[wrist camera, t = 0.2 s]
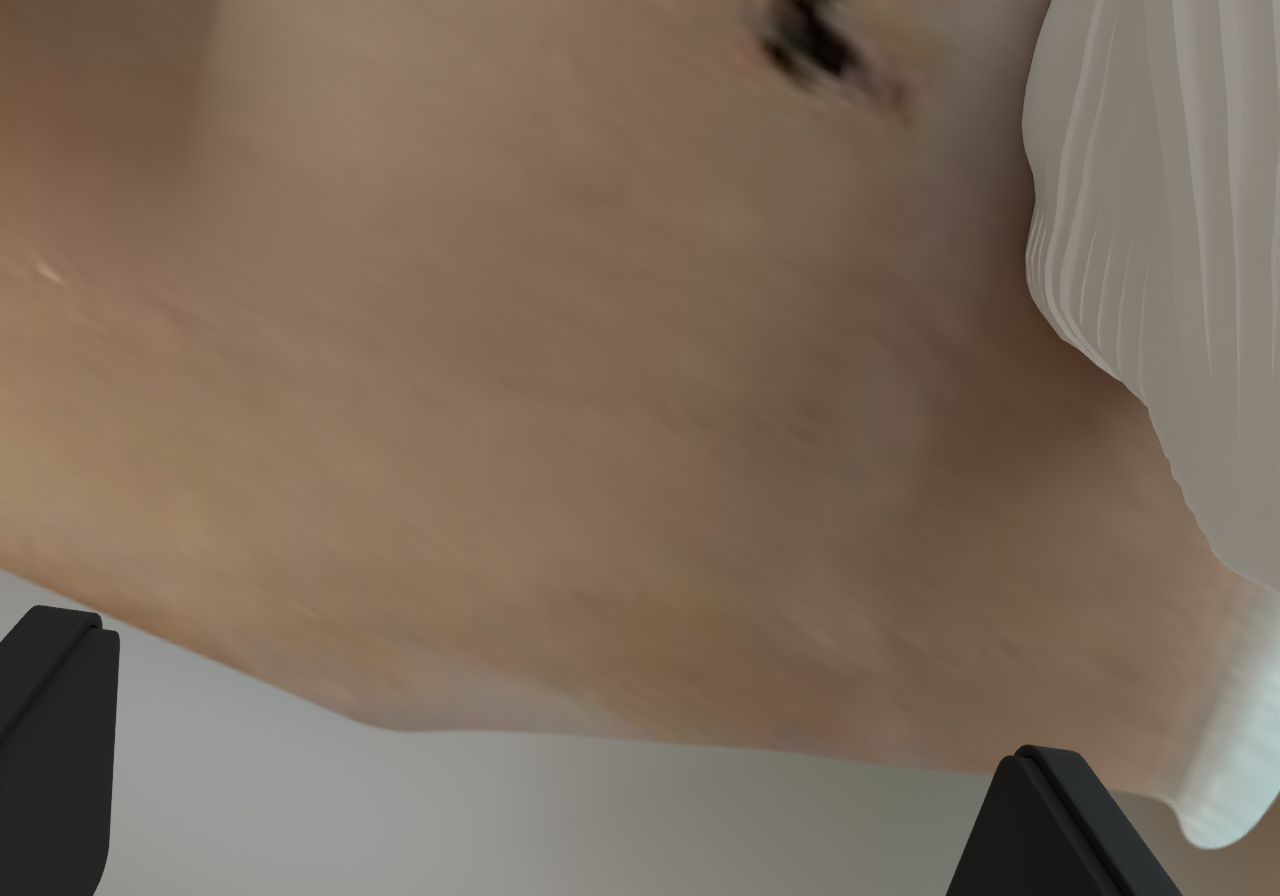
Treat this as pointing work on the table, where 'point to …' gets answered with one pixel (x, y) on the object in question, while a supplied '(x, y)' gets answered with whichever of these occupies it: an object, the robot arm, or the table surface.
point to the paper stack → (1170, 236)
